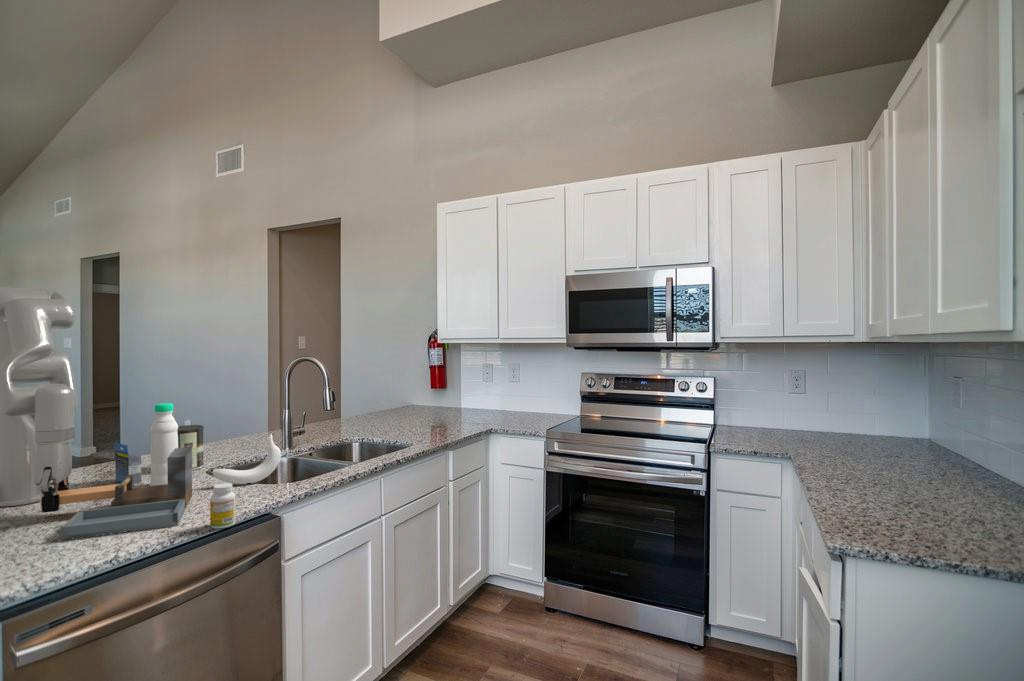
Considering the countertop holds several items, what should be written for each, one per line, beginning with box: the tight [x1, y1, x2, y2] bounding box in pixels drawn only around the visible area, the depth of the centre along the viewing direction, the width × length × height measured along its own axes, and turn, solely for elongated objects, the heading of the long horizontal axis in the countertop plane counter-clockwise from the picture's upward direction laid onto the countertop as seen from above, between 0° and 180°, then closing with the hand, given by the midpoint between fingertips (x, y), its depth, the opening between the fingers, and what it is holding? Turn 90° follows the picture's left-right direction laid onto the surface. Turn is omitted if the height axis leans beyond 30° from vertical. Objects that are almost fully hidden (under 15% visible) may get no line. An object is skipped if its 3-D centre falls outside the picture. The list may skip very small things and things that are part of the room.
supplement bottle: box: [209, 482, 237, 529], centre depth 125 cm, size 5×5×10 cm
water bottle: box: [149, 402, 179, 486], centre depth 157 cm, size 7×7×25 cm
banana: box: [212, 432, 282, 485], centre depth 159 cm, size 5×19×15 cm, turn 128°
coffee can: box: [177, 424, 205, 471], centre depth 176 cm, size 10×10×14 cm
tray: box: [60, 499, 186, 541], centre depth 125 cm, size 22×12×3 cm, turn 115°
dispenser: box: [110, 447, 193, 510], centre depth 138 cm, size 16×12×14 cm
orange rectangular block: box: [40, 483, 127, 508], centre depth 132 cm, size 16×6×2 cm, turn 116°
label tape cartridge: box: [114, 441, 142, 485], centre depth 160 cm, size 9×4×12 cm, turn 59°
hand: (55, 506), depth 130 cm, fingers closed on orange rectangular block, 5 cm apart
